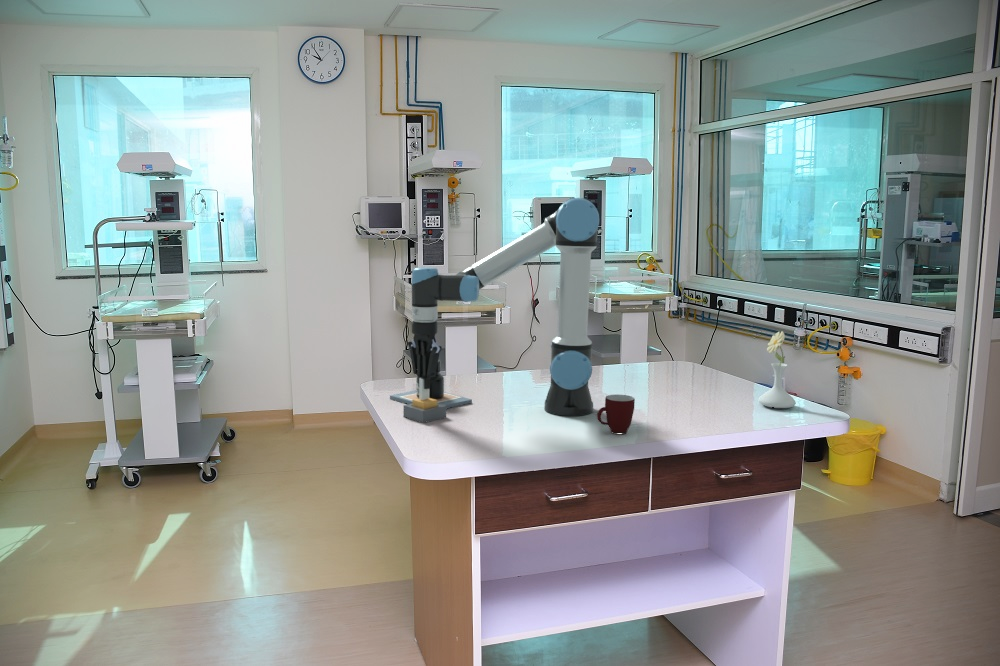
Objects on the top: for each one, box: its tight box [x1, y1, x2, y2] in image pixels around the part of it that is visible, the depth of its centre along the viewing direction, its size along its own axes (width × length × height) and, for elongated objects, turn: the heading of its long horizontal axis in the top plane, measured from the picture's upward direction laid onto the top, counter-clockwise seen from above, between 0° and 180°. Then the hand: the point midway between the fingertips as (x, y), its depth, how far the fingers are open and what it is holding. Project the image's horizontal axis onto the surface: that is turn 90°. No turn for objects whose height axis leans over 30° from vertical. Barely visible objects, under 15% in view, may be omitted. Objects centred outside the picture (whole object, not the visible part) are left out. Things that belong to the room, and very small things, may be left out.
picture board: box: [389, 390, 473, 409], centre depth 248 cm, size 22×16×1 cm
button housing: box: [403, 403, 447, 423], centre depth 228 cm, size 9×9×4 cm
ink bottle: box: [416, 359, 445, 399], centre depth 247 cm, size 10×9×12 cm
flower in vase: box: [757, 330, 796, 409], centre depth 244 cm, size 13×11×25 cm
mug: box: [596, 394, 636, 434], centre depth 214 cm, size 11×8×10 cm
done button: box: [413, 398, 437, 409], centre depth 228 cm, size 5×5×4 cm
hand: (424, 399), depth 228 cm, fingers closed
